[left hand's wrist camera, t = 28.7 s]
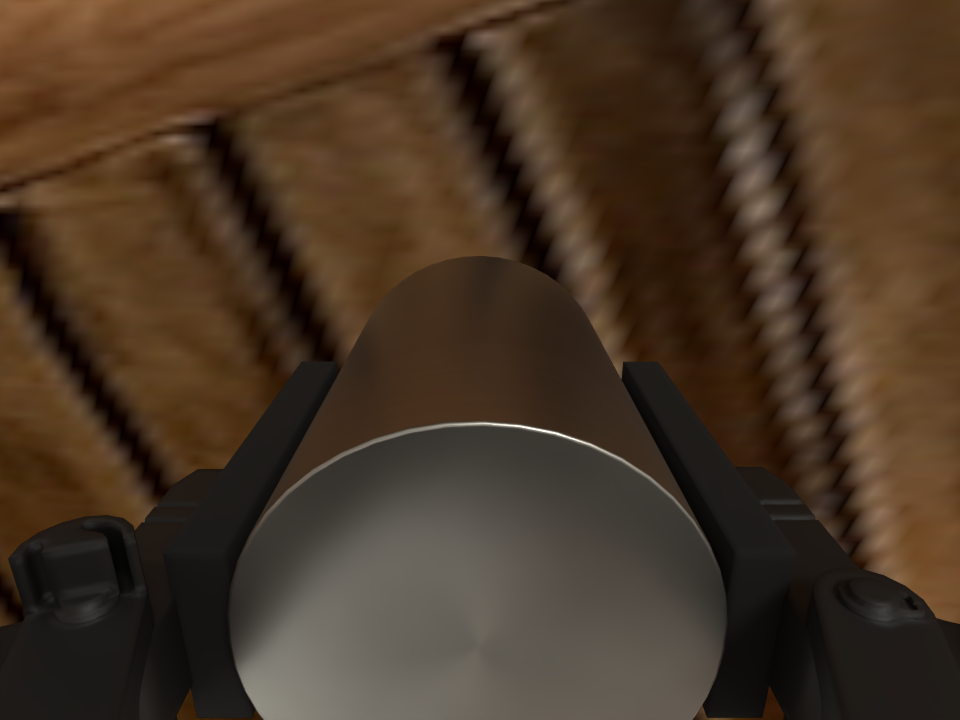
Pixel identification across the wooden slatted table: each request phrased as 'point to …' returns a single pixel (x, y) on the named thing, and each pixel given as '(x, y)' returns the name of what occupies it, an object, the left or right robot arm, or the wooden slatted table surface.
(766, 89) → the wooden slatted table surface
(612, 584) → the can
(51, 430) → the wooden slatted table surface
